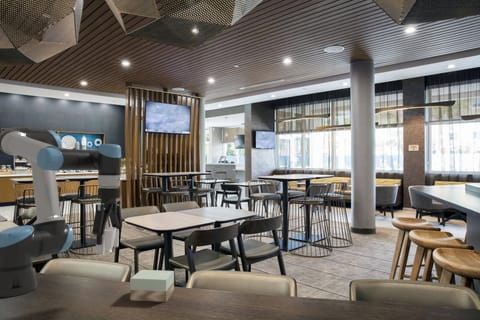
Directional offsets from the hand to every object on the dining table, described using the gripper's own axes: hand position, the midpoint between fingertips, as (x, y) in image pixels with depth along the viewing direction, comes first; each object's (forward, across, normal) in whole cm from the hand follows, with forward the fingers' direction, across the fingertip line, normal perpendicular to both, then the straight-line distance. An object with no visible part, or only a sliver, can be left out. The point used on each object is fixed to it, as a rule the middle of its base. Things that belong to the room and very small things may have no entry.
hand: (107, 250), depth 116 cm
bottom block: (+18, +6, -15) cm, 24 cm away
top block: (+14, +6, -15) cm, 21 cm away
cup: (0, 0, 0) cm, 0 cm away
